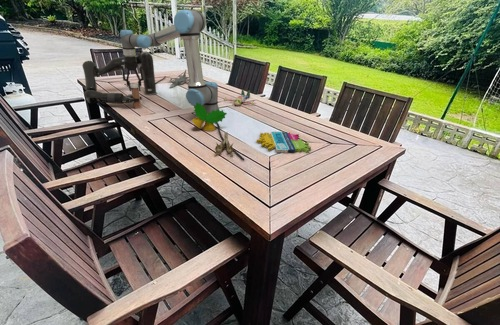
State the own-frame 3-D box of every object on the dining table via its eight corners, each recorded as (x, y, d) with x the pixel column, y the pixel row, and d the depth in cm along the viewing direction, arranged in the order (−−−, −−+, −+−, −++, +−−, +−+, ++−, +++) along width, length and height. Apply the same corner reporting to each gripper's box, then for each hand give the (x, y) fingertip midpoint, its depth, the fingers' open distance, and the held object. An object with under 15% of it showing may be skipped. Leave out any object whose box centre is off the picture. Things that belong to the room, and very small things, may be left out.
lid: (135, 88, 181) (135, 85, 180) (128, 87, 182) (128, 84, 182) (140, 86, 186) (140, 84, 185) (133, 85, 187) (133, 83, 186)
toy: (261, 91, 228) (254, 99, 202) (261, 99, 231) (253, 108, 205) (231, 87, 233) (220, 95, 207) (230, 95, 236) (219, 104, 210)
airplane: (160, 80, 270) (159, 70, 265) (190, 78, 283) (189, 68, 278) (168, 89, 242) (167, 78, 236) (201, 87, 255) (201, 77, 250)
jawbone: (234, 135, 144) (233, 125, 135) (233, 160, 138) (232, 151, 129) (217, 135, 144) (216, 125, 135) (216, 160, 138) (214, 150, 129)
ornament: (218, 133, 171) (224, 110, 169) (221, 134, 163) (227, 111, 161) (186, 125, 162) (192, 101, 160) (189, 126, 155) (195, 101, 153)
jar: (142, 107, 192) (139, 86, 184) (135, 108, 188) (132, 87, 181) (139, 105, 194) (136, 84, 187) (133, 107, 191) (129, 85, 184)
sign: (313, 150, 142) (258, 149, 139) (312, 153, 143) (258, 152, 140) (301, 132, 164) (254, 130, 161) (301, 134, 165) (254, 133, 162)
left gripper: (110, 95, 179) (136, 96, 181) (118, 90, 191) (142, 91, 193) (113, 106, 183) (138, 107, 184) (120, 100, 195) (143, 101, 197)
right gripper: (144, 55, 180) (149, 89, 191) (115, 54, 174) (121, 89, 186) (144, 56, 174) (149, 91, 185) (114, 56, 168) (120, 92, 180)
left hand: (140, 99), depth 189 cm, fingers closed on jar, 5 cm apart
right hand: (135, 90), depth 185 cm, fingers closed on lid, 5 cm apart
